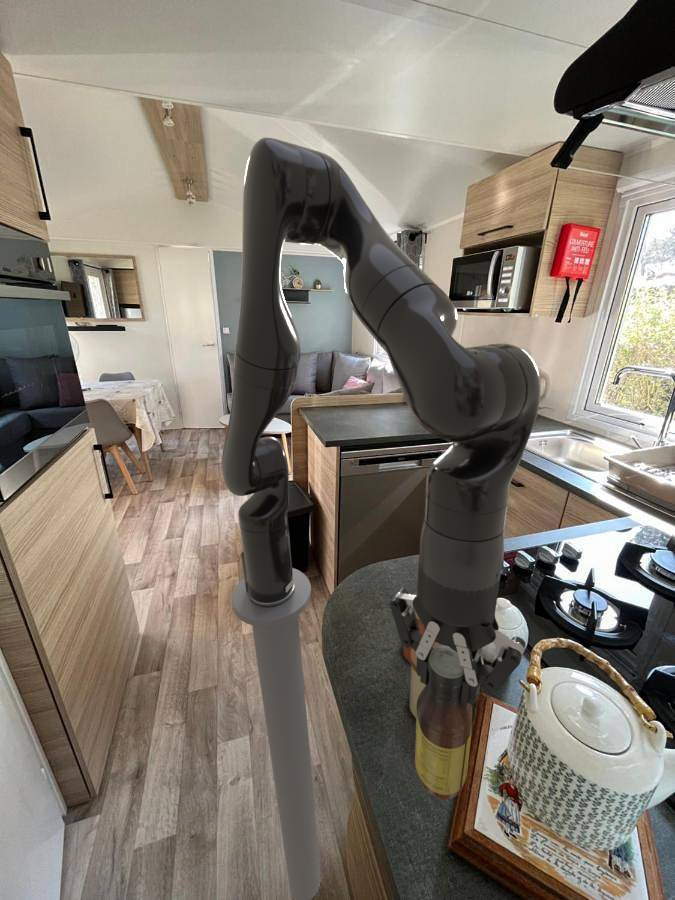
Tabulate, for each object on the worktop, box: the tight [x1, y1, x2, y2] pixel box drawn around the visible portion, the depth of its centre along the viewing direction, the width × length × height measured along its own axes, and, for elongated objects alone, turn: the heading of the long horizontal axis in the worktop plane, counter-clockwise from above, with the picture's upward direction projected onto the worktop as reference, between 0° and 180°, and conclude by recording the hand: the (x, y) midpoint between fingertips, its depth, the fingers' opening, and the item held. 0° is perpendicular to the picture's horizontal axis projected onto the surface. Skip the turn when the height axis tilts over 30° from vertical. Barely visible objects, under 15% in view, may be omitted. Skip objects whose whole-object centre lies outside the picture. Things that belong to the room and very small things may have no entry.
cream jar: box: [408, 642, 442, 719], centre depth 55 cm, size 5×5×10 cm
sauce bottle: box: [414, 645, 473, 801], centre depth 44 cm, size 6×6×20 cm
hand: (446, 688), depth 42 cm, fingers closed on sauce bottle, 4 cm apart
